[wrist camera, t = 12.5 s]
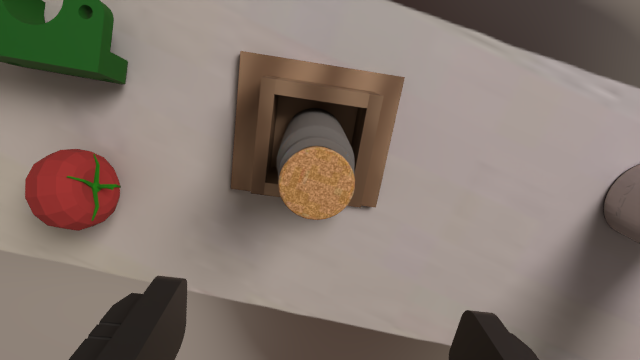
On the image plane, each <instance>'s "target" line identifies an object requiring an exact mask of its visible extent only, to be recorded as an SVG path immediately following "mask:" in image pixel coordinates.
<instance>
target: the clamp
mask: <svg viewBox="0 0 640 360" xmlns="http://www.w3.org/2000/svg"><path fill="white" fill-rule="evenodd" d="M44 9H45V2H43V1H42V0H0V62H4V63H8V64H12V65H17V66H21V67H27V68H32V69H38V70H44V71H50V72H55V73H61V74H67V75H72V76H78V77H84V78H90V79H95V80H101V81H107V82H112V83H118V84H125V82H126V73H127V65H128V61H126V60H124V59H123V58H121V57H119V56H117V55H115V54H113V53H111V52H110V47H111V39H112V30H113V21H114V18H113V14H112V12H111V10H110V9H109V8H108V7H107V6H106V5H105V4H104V3H102V2H101V1H100V0H64V1H63V6H62V8H61V10H60V12H59V13H58V15H57V16H56V17H55V18H54V19H52V20H51V21H49V22H47V23H45V20H44Z"/></svg>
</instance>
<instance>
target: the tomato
mask: <svg viewBox="0 0 640 360" xmlns="http://www.w3.org/2000/svg"><path fill="white" fill-rule="evenodd" d="M120 188H121V186H120V183H119V180H118V178H117V175H116V173H115V170H114V168H113V167H112V166H111V165H110V164H109V163H108V162H107V161H106V159H105V158H104V157H102V156H99V155H97V154H95V153H93V152H90V151H85V150H80V149H70V150H60V151H57V152H55V153H52V154H50V155H48V156H46V157H45V158H43V159H41V160H40V161H38V162H37V163H35V164H34V165H33V167H32V169H31V170H30V172H29V174H28V176H27V178H26V184H25V198H26V200H27V202H28V204H29V206H30V208H31V210H32V212H33V214H34V215H35V216H36V217H37V218H39V219H40V220H41V221H43V222H44V223H45V224H47V225H48V226H54V227H59V228H64V229H71V230H82V229H85V228H88V227H91V226H94V225H96V224H98V223H101V222H103V221H105V220H106V219H107V218H108V217H109V216H110V215H111V214H112V213H113V212H114V211H115V208H116V205H117V203H118V200H119V197H120Z"/></svg>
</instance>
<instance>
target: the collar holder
mask: <svg viewBox="0 0 640 360" xmlns="http://www.w3.org/2000/svg"><path fill="white" fill-rule="evenodd" d="M404 78H405V77H399V76H393V75H386V74H380V73H374V72H368V71H362V70H355V69H349V68H343V67H337V66H331V65H324V64H318V63H312V62H306V61H299V60H293V59H287V58H281V57H275V56H268V55H262V54H256V53H250V52H244V51H241V53H240V66H239V80H238V94H237V108H236V122H235V136H234V150H233V164H232V178H231V189H238V190H246V191H251V193H252V194H260V195H268V196H276V197H281V196H280V193H279V184H278V181H279V180H278V171H277V155H278V151H279V148H280V145H281V142H282V139H283V136H284V133H285V131H286V128H287V126H288V124H289V122H290V121H291V119H292V118H293V117H294V116H295V115H296V114H297V113H299V112H300V111H302V110H305V109H309V108H320V109H323V110H326V111H328V112H330V113H331V114H332V115H333V116H334V117H335V118H336V119H337V120H338V122H339V123H340V125H341V127H342V129H343V131H344V133H345V135H346V137H347V139H348V141H349V143H350V145H351V147H352V150H353V153H354V161H355V165H354V177H355V189H354V193H353V196H352V198H351V200H350V202H349V203H348V205H347V206H353V207H361V205H362V206H369V207H376V204H377V199H378V195H379V190H380V186H381V181H382V177H383V172H384V168H385V163H386V159H387V154H388V150H389V145H390V141H391V136H392V132H393V127H394V123H395V118H396V114H397V109H398V105H399V100H400V96H401V91H402V87H403V82H404Z"/></svg>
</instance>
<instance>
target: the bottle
mask: <svg viewBox="0 0 640 360" xmlns="http://www.w3.org/2000/svg"><path fill="white" fill-rule="evenodd" d="M354 165H355V161H354V153H353V150H352V147H351V145H350V143H349V141H348V139H347V137H346V135H345V133H344V131H343V129H342V127H341V125H340V123H339V122H338V120H337V119H336V118H335V117H334V116H333V115H332V114H331V113H330V112H328V111H326V110H323V109H320V108H309V109H305V110H302V111H300V112H299V113H297V114H296V115H295V116H294V117H293V118H292V119H291V121H290V122H289V124H288V126H287V128H286V131H285V133H284V136H283V139H282V142H281V145H280V148H279V151H278V155H277V171H278V180H279V181H278V184H279V193H280V196H281V198H282V200H283V202H284V203H285V205H286V206H287V207H288V208H289V209H290V210H291V211H292V212H294V213H295V214H297V215H299V216H301V217H303V218H307V219H313V220H320V219H326V218H330V217H332V216H334V215H336V214H338V213H339V212H341V211H342V210H343V209H344V208H345V207H346V206H347V205H348V203H349V202H350V200H351V198H352V196H353V193H354V189H355V177H354Z"/></svg>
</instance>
